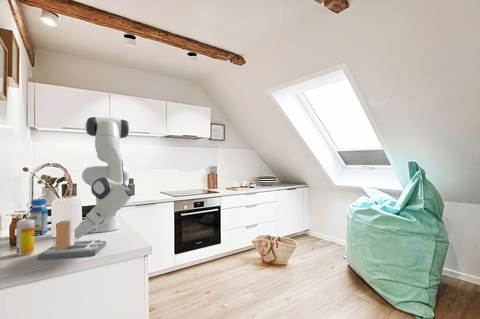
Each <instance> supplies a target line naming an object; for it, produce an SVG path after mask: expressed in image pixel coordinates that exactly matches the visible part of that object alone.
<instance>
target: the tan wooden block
mask: <svg viewBox="0 0 480 319" xmlns="http://www.w3.org/2000/svg"><path fill="white" fill-rule="evenodd" d="M55 244H56V250H66V249H67V248H69V221H61V222H59V223H57V224H56V228H55Z"/></svg>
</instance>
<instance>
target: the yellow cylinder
mask: <svg viewBox="0 0 480 319" xmlns="http://www.w3.org/2000/svg"><path fill="white" fill-rule="evenodd" d="M34 252H35V236H34V220H33V219H30V218H28V219H27V218H26V219H20V220H18V221H17V222H16V255H17V256H18V255H19V257H23V256H24V257H25V256H30V255H31V254H33V253H34Z"/></svg>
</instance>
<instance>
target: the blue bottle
mask: <svg viewBox="0 0 480 319" xmlns="http://www.w3.org/2000/svg"><path fill="white" fill-rule="evenodd" d="M46 205H47V199H46V198H35V199H32V200H31V206H32V207H31V208H30V210H29V218H28V219H33V220H34V235H39V236H41V235H40V234H44V235H46V234H48V217H49V214H48V210H49V209H48V208H47V206H46ZM45 233H46V234H45Z"/></svg>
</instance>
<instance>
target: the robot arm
mask: <svg viewBox="0 0 480 319" xmlns="http://www.w3.org/2000/svg"><path fill="white" fill-rule="evenodd" d="M84 126H85V127H84V128H85V131H86V134H87V135H89V136H91V137H95V139H94V149H95V151H96V156H97V159H99V160H100V161H101V162H103V163H105V164H106V165H102V166H101V165H99V166H98V165H93V166H89V167H85V168H84V169H83V171H82V174H81V178H82V181H83V182H84V183H85V184H87V185H89V186H90V187H91V188H90V191H91V193H92V195H93V196H94V197H95V202H96V205H95V206H93V208H91V209H90V211H89V212H87V213H86V217H85V218H84V219H82V221H80V223H79V224H78V225H77V226H76V227H75V228H74V238H76V239H77V240H78V239H80V238H82V237H83V236H84V235H86V234H87V233H91V234H93V233H104V232H105V233H106V232H107V233H108V232H111V231H116V230H118V229H120V227H121V224H120V220H119V219H120V218H119V213H118V211H119V210H121V209H122V208H123V207H124V206H125V205H126V204H127V203H128V202H129V201H130V199H131V198H132V195H133V192H132V190H131V189H130V187H129V186H128V185H127V184H126V182H127V181H128V180H129V177H130V171H129V169H128V168H127V167H126V166H124V164H123V163H124V162H123V158H122V154H121V149H120V139H124V138H127V137H128V136H129V134H130V133H131V127H130V122H128V120H126V119H123V118H122V119H120V118H113V117H96V116H91V117H90V116H89V117H88V118H87V120H86V122H85V124H84Z"/></svg>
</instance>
